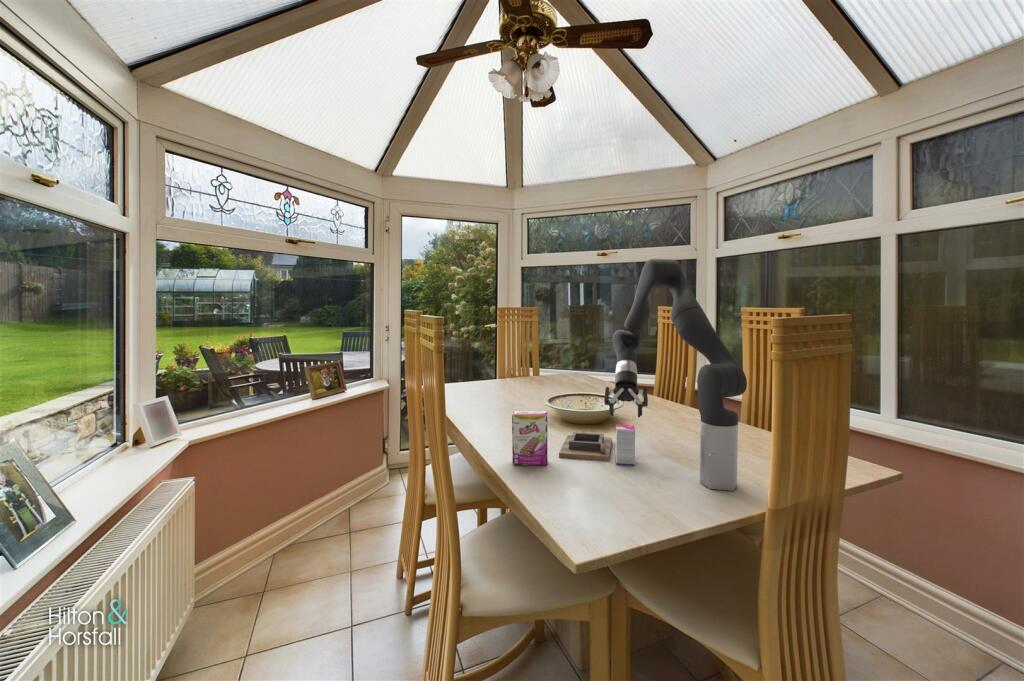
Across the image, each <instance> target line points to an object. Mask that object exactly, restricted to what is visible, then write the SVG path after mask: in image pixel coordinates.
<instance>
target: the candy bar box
mask: <svg viewBox="0 0 1024 681" xmlns="http://www.w3.org/2000/svg"><path fill="white" fill-rule="evenodd" d="M548 419H549V418H548V411H547V410H545V411H541V410H540V411H538V410H536V411H535V410H534V411H529V410H513V412H512V414H511V429H512V430H511V434H512V435H511V437H512V438H511V439H512V441H511V442H512V445H511V446H512V448H511V449H512V465H513V464H529V465H528V466H548V459H549V454H548V452H549V451H548V448H549V447H548V446H549V445H548V439H549V438H548V437H549V436H548V435H549V434H548V432H549V431H548V423H549V422H548Z"/></svg>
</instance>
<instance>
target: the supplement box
mask: <svg viewBox="0 0 1024 681" xmlns="http://www.w3.org/2000/svg"><path fill="white" fill-rule="evenodd" d="M614 450H615V453H614V454H615V457H614V459H615V460H614V461H615V465H616V466H628V467H634V466H635V465H636V464H635V460H636V428H635V426H634V424H617V423H616V424H615V449H614Z"/></svg>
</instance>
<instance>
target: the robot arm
mask: <svg viewBox="0 0 1024 681" xmlns="http://www.w3.org/2000/svg"><path fill="white" fill-rule="evenodd" d="M653 288H667V289H668V290H669V292H670V293H671V295H672V298H673V302H672V306H671V313H670V318H671V322H672V324H673V327H674V328H675V331H677V334H678V335H679V337H680V338H681V339H682V340H683V341H684V342H685V343H686V344H687V345H689V346H690V347H692V348H693V349H694V350H696V351H698V353H700V354H701V355H702V356H704V357H705V358H706V359H707V361H708V363H707V364H704V365H703V366H701V367H700V368H699V371H698V373H697V378H696V379H697V380H696V383H697V388H696V389H697V404H698V405H697V406H698V407H697V408H698V411H699V414H700V431H699V432H700V433H699V434H700V438H699V440H700V441H699V442H700V443H699V445H700V447H699V451H700V452H699V455H700V456H699V482H700V484H702V485H703V486H705V487H707V488H708V489H710V490H717V491H718V490H719V491H730V492H732V491H733V492H734V491H735V489H736V488H737V487H738V455H739V454H738V450H739V449H738V446H739V445H738V444H739V440H738V438H739V414H738V413H737V412H736V411H734V410H732V409H728V408H726V407H725V406H724V405H725V404H724V398H733V397H739V396H741V395H743V394H745V392H746V390H747V386H748V380H747V377H746V373H745V372H744V369H743V368H742V366H741V365H740V363H739V362H738V361H737V360H736V358H735V357H734V355H733V354H732V353H731V352H730V350H729V349H728V348H727V346H726V345H725V344H724V343H723V341H722V339H721V338H720V336H719V335H718V333H717V331H716V330H715V328H714V326H713V325H712V323H711V322H710V320H709V318H708V316H707V315H706V312H704V309H703V308H702V306H701V304H700V303H699V302H698V299H696V296H695V295H694V293H693V291H692V290H691V287H690V285H689V283H688V280H687V279H686V276H685V274H684V272H683V269H682V267H681V265H680V264H679V263H678V261H676V260H675V259H671V258H650V259H649V260H647V261H646V262H645V264H644V266H643V267H642V270H641V273H640V277H639V280H638V284H637V287H636V291H635V292H636V293H635V296H634V299H633V303H632V306H631V307H630V309H629V310H630V311H629V312H628V314H627V317H626V319H625V321H624V324H623V326H624V328H625V330H624V329H617V330H616V331H615V332H614V333H613V334H612V342H611V343H612V347H613V349H614V353H615V356H616V365H615V372H614V376H615V377H614V388H610V387H609V386H606V387H605V390H604V398H603V402H604V405H605V406H608V408H609V409H608V412H609V415H611V417H614V415H615V414H614V412H615V411H614V408H615V405H617V404H618V403H619V402H629V403H630V402H632V403H634V404H635V405H636V406H637V418H641V417H642V416H643V408H645V407H646V408H647V407H648V405H649V403H648V402H649V400H648V389H647V388H646V387H644V388H643V389H639V388H638V367H637V354H636V351H637V350H639V349H640V347H641V345H642V336H643V332H644V330H645V328H646V325H647V323H648V322H649V320H650V316H651V305H650V301H649V300H650V299H649V295H650V292H651V291H652V290H653ZM612 393H613V394H614V395H613V397H612V398H611V399H610V396H611V395H612ZM639 394H640V396H641V397H642V399H643V401H642V400H641V399H640V398H639V396H638V395H639ZM609 399H610V400H609Z"/></svg>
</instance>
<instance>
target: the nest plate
mask: <svg viewBox="0 0 1024 681" xmlns="http://www.w3.org/2000/svg"><path fill="white" fill-rule="evenodd" d="M612 442H613V437H608V436H607V437H605V436H604V434H603V433H594V432H593V433H592V432H591V433H590V432H589V433H588V432H572V434H567V436H566V438H565V439H564V442H563V444H562V446H561V449H560V450H559V452H558V458H562V457H563V459H564V458H565V459H578V460H589V461H592V460H593V461H603V462H609V461H610V457H611V450H612Z"/></svg>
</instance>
